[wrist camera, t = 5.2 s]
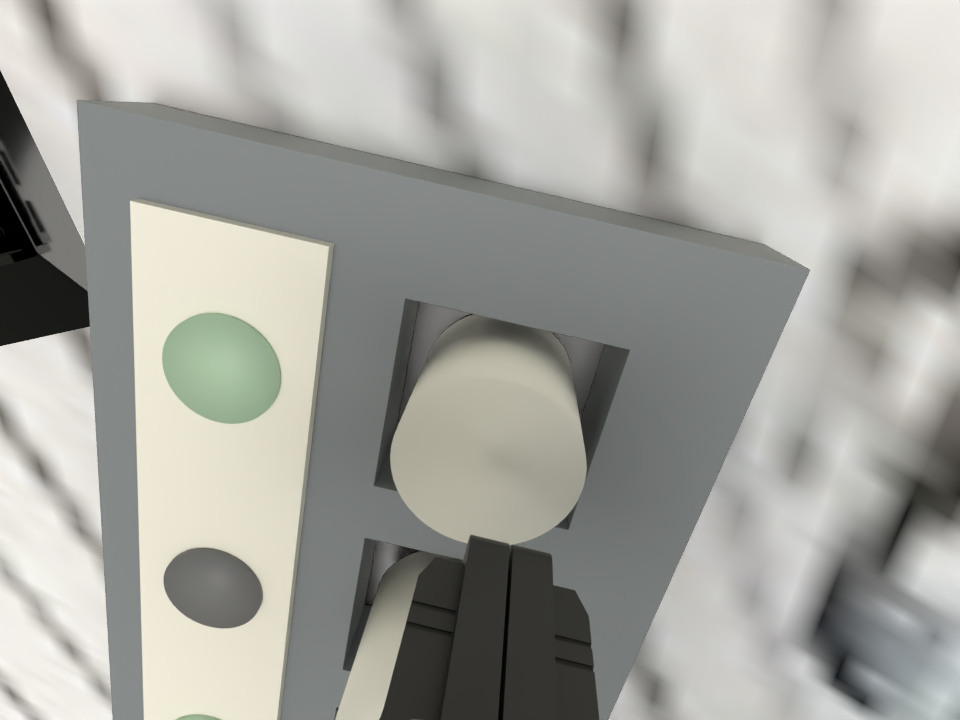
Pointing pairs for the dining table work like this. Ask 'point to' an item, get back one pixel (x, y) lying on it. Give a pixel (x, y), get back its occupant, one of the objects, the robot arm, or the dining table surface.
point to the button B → (382, 639)
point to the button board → (385, 353)
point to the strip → (221, 452)
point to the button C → (491, 434)
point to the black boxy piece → (35, 241)
